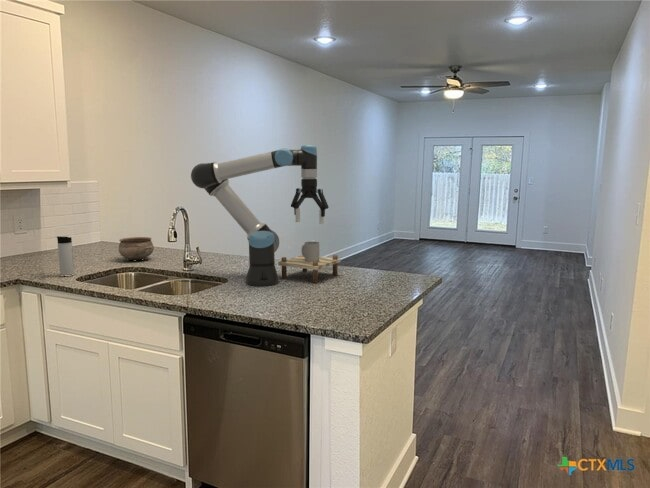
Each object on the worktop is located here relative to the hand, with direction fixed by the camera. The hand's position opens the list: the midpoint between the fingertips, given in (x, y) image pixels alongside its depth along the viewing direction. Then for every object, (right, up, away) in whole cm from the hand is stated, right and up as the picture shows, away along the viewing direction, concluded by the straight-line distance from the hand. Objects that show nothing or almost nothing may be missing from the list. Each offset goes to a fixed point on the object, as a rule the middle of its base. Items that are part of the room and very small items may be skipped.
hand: (309, 222), depth 241 cm
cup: (0, -18, +3) cm, 19 cm away
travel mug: (-120, -26, +7) cm, 123 cm away
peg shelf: (0, -26, +4) cm, 27 cm away
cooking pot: (-101, -20, +47) cm, 113 cm away
